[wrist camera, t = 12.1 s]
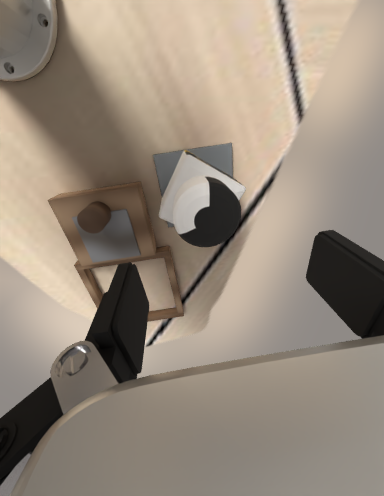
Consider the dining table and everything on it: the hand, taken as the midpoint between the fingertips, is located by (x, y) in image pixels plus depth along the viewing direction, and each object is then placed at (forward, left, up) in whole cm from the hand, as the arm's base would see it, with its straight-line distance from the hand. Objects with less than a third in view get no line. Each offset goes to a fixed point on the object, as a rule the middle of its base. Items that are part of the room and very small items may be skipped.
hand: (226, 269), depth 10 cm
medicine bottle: (0, 0, -19) cm, 19 cm away
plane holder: (+11, -13, -20) cm, 26 cm away
